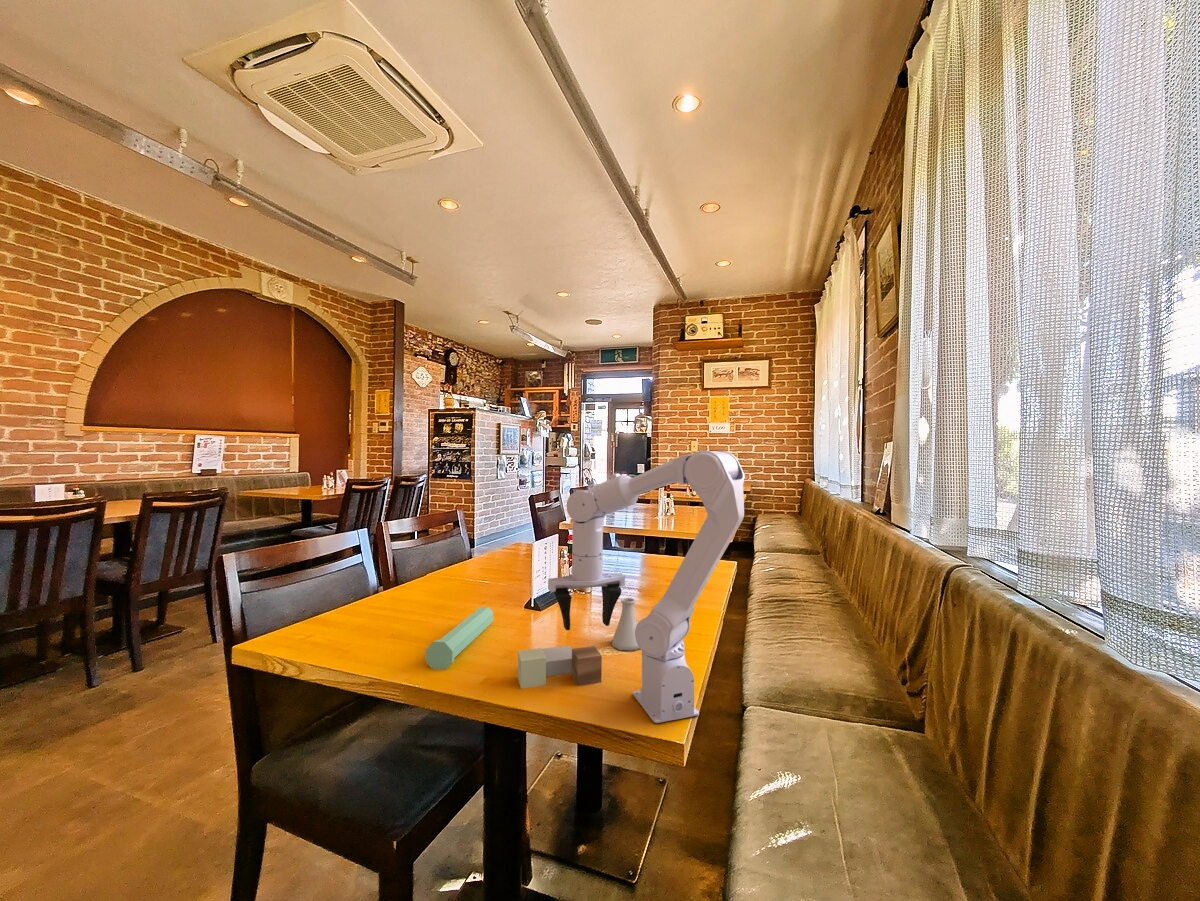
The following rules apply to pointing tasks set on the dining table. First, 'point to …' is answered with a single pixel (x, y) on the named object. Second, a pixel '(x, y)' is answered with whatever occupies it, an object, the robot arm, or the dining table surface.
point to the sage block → (531, 668)
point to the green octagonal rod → (458, 639)
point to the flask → (626, 627)
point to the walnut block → (586, 665)
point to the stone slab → (558, 660)
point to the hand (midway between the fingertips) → (586, 626)
